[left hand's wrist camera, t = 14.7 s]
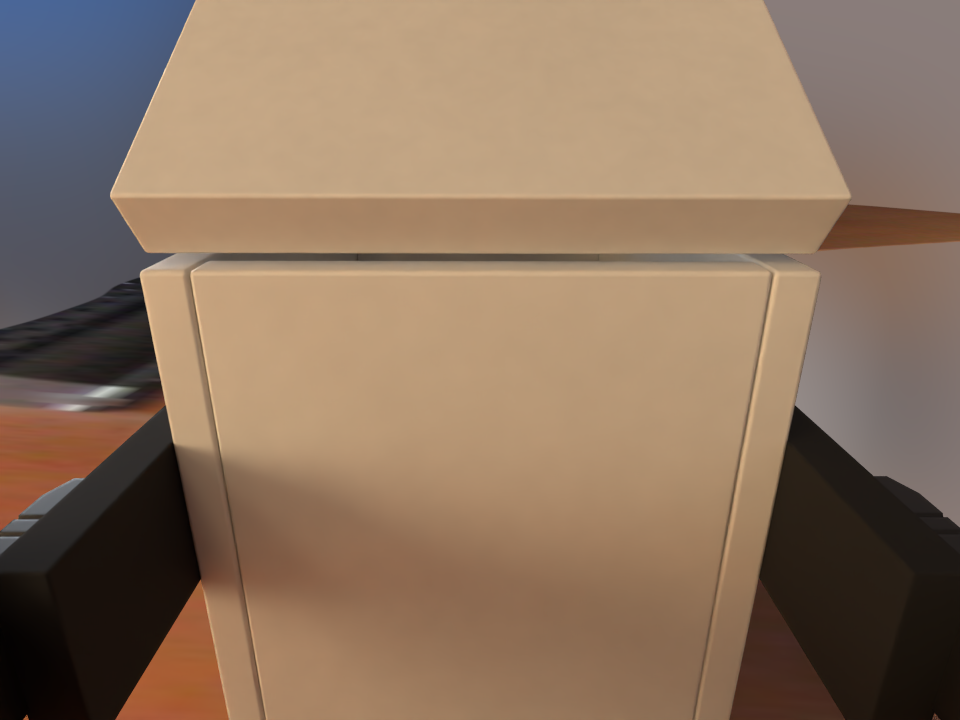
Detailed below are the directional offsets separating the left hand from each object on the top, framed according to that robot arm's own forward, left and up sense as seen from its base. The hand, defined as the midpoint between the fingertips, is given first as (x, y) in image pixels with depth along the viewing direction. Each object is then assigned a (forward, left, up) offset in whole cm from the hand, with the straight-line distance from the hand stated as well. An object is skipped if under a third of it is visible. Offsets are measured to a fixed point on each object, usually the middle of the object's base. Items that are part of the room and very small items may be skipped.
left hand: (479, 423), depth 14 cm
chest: (-2, +3, -7) cm, 7 cm away
